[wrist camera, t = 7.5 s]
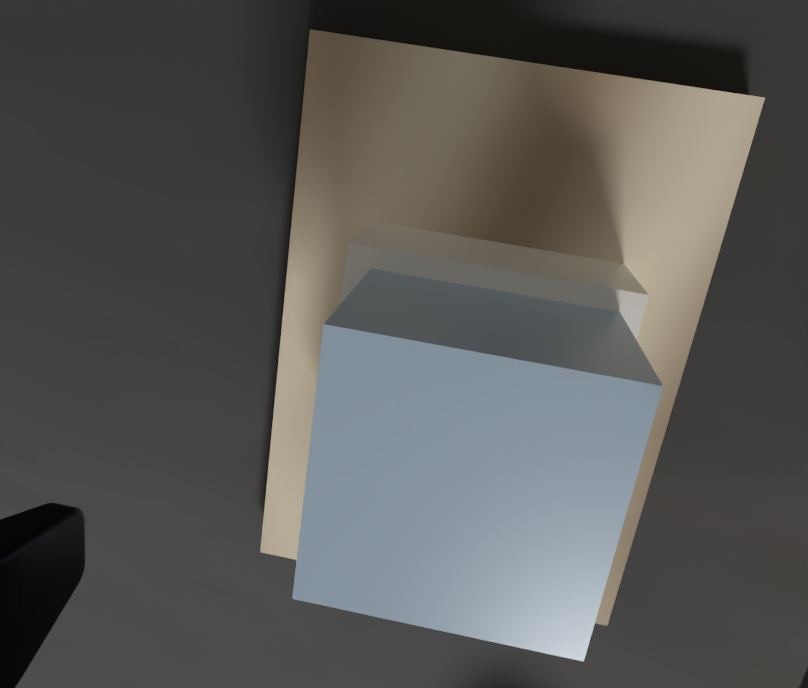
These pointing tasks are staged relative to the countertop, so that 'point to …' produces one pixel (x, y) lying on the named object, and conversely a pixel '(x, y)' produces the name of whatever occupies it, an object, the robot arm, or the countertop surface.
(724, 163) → the base plate
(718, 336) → the countertop surface
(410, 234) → the lower brick
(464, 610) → the middle brick
